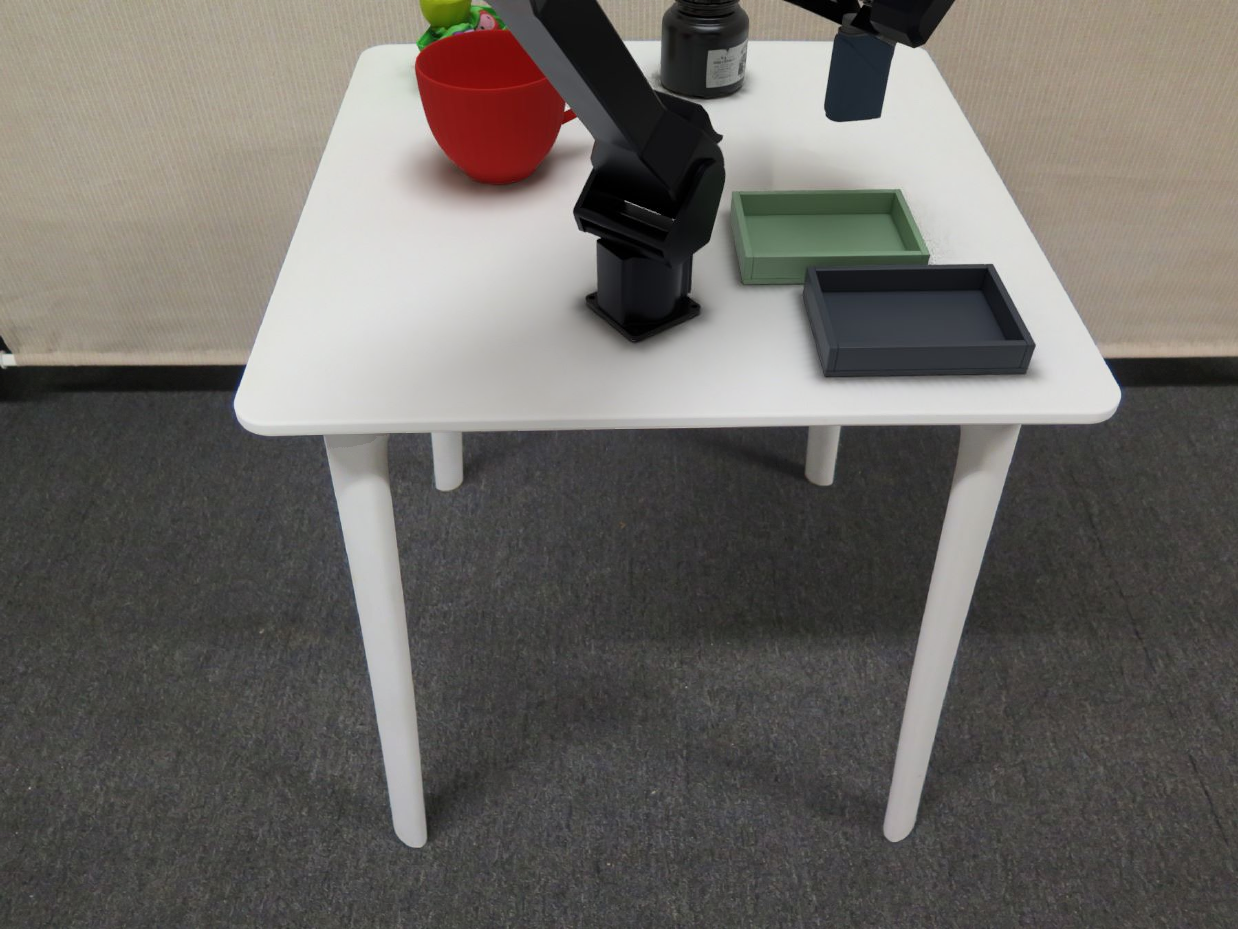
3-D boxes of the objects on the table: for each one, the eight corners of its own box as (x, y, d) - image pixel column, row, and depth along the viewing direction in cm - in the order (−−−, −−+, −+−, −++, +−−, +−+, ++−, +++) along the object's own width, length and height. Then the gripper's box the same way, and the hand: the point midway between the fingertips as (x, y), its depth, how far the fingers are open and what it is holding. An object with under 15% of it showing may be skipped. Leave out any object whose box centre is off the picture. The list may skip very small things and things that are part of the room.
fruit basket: (490, 100, 103) (479, -16, 95) (409, 92, 105) (391, -24, 97) (524, 57, 111) (516, -54, 103) (447, 49, 113) (434, -60, 105)
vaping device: (887, 119, 86) (917, -33, 78) (829, 124, 85) (853, -29, 77) (874, 107, 88) (902, -43, 80) (817, 111, 87) (840, -39, 79)
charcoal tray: (824, 376, 71) (829, 348, 69) (802, 293, 78) (806, 265, 76) (1026, 373, 71) (1036, 344, 69) (984, 291, 78) (993, 263, 77)
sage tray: (743, 284, 79) (745, 256, 77) (729, 217, 86) (731, 190, 85) (923, 282, 79) (930, 254, 78) (895, 215, 87) (900, 188, 85)
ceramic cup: (631, 180, 91) (632, 69, 84) (447, 213, 87) (432, 99, 80) (585, 119, 100) (583, 15, 93) (416, 147, 96) (400, 40, 89)
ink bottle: (729, 106, 102) (739, -19, 94) (646, 93, 104) (649, -31, 96) (755, 69, 109) (766, -51, 100) (677, 57, 111) (681, -61, 103)
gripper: (989, -179, 63) (1038, -25, 76) (775, -224, 74) (850, -82, 86) (882, -22, 65) (948, 104, 78) (687, -88, 75) (774, 32, 88)
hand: (878, 33), depth 82 cm, fingers closed on vaping device, 3 cm apart
